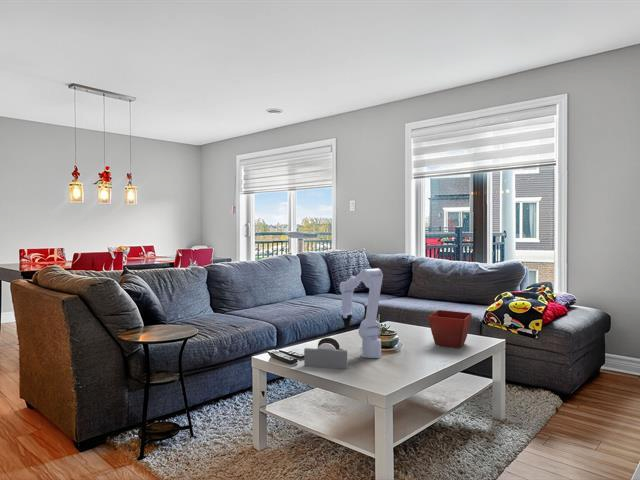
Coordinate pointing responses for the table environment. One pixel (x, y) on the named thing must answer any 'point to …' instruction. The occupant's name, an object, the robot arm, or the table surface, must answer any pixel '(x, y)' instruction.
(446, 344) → the plant pot
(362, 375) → the table surface
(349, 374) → the table surface
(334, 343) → the dark brown rounded piece
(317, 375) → the table surface
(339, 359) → the duct panel
